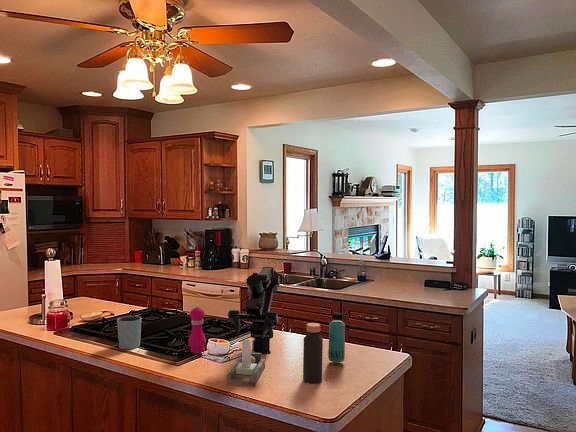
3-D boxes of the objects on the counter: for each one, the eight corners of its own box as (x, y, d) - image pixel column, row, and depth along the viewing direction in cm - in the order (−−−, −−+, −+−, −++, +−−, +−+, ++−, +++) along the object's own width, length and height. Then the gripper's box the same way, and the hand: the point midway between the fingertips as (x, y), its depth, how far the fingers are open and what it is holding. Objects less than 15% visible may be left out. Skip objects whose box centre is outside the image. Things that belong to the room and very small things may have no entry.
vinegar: (308, 385, 167) (309, 328, 166) (299, 378, 173) (300, 323, 172) (325, 382, 170) (326, 326, 169) (316, 375, 176) (317, 321, 175)
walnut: (254, 363, 183) (254, 354, 183) (256, 366, 180) (256, 357, 180) (244, 364, 182) (244, 354, 182) (246, 367, 179) (246, 358, 179)
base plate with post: (239, 365, 185) (239, 351, 184) (265, 367, 183) (265, 353, 183) (226, 384, 166) (226, 368, 166) (255, 386, 165) (255, 370, 165)
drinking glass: (131, 351, 200) (131, 322, 200) (111, 348, 203) (111, 320, 203) (146, 344, 210) (146, 316, 209) (126, 341, 213) (126, 314, 212)
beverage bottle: (335, 359, 194) (336, 310, 193) (348, 363, 189) (349, 313, 188) (324, 363, 189) (325, 312, 188) (337, 367, 184) (338, 315, 184)
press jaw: (239, 368, 177) (240, 338, 177) (256, 369, 177) (257, 339, 176) (235, 373, 171) (235, 343, 171) (253, 375, 171) (253, 344, 170)
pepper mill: (206, 349, 204) (207, 302, 203) (204, 355, 197) (204, 306, 196) (189, 349, 204) (190, 302, 203) (186, 355, 196) (187, 306, 195)
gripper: (229, 288, 184) (220, 325, 174) (277, 291, 181) (272, 328, 171) (234, 304, 192) (226, 340, 182) (280, 306, 190) (275, 343, 179)
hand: (249, 337), depth 178 cm, fingers open, 9 cm apart
